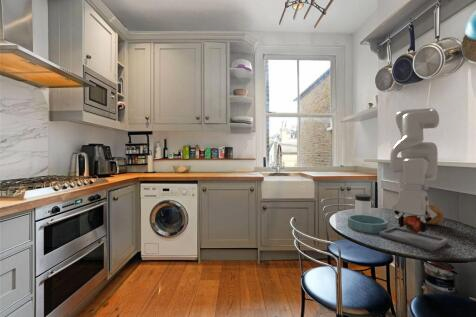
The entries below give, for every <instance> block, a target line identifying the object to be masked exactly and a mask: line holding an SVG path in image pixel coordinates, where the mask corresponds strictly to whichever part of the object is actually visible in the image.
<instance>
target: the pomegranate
mask: <svg viewBox="0 0 476 317" xmlns="http://www.w3.org/2000/svg"><path fill="white" fill-rule="evenodd" d="M403 224H404V227H405V228H404V229H405V230H404V231H406V230H407V229H408V230H409V231H412V232H415V233H418V232H420V233H421V220H420V216H419V218H417V217H416V216H407V217H405V218H404V220H403ZM404 231H403V232H404Z"/></svg>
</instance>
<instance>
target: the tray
mask: <svg viewBox="0 0 476 317" xmlns="http://www.w3.org/2000/svg"><path fill="white" fill-rule="evenodd" d="M405 229H407V228H402V227H398V226H392V227H389V228H387V229H386V230H383V231H380V232H379V233H378V234H379V235H378V236H379V237H381V238H385V239H388V240H392V241H395V242H398V243H400V244H406V245H409V246H413V247H416V248H419V249H422V250H427V251H430V252H432V253H433V252H436V251H438V250H439V249H441V248H443V247H445V246H446V245H449V239H448V238H445V237H442V236H441V237H440V236H436V235H432V234H427V233H425V232H421V231H420V232H418V233H415V232H412V231H409V230H408V229H407V230H406V231H404V230H405ZM403 231H404V232H403Z"/></svg>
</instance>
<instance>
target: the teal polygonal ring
mask: <svg viewBox="0 0 476 317" xmlns="http://www.w3.org/2000/svg"><path fill="white" fill-rule="evenodd" d="M347 227H349V228H350V229H352V230H354V229H355V231H358V232H362V233H369V234H379V232H380V231H383V230H386V229H388V220H387V219H385V218H382V217H379V216H374V215H371V216H369V215H355V214H352V215H348V216H347Z"/></svg>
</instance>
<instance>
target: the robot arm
mask: <svg viewBox="0 0 476 317" xmlns="http://www.w3.org/2000/svg"><path fill="white" fill-rule="evenodd" d="M395 122H396V126H397V128H398V130H399V133H400V140H399V141H397V143H396V144H395V145H394V146H393V147H392V148H391V151H390V156H389V157H390V162H389V167H390V170H391V172H392V173H393V174H397V177H398V179H397V180H398V203H396V204H394V205H392V206H391V209H392V210H393V212H394V214H395V216H394V218H395V219H397V220H398V225H399V228H402V227H405V225H404V224H403V220H404V218H405V217H407V216H416V217H417V218H419V217H420V220H421V231H420V233H425V232H426V231H428V224H427V222H428V221H430V220H432V219H433V218H434V217H435V216H436V215H437V214H436V213H435V212H433V211H432V210H431V209H430V208H429V205H430V203H429V196H428V193H427V191H426V190H429V186H428V185H426V184H425V181H435V180H436V179H437V178H438V157H439V156H438V155H439V154H438V146H437V144H435V143H434V142H431V141H428V142H427V141H424V139H425V138H424V137H425V136H424V129H425V130H426V129H436V128H437V127H438V126H439V124H440V115H439V113H438V111H437V109H435V108H433V107H431V108H430V107H429V108H417V109H416V108H413V109H404V110H399V111H398V112H396V114H395ZM399 153H400V155H401V157H400V156H399V157H398V155H399ZM429 213H430V216H429V217H428V218H427V216H426V215H428V214H429Z"/></svg>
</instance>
